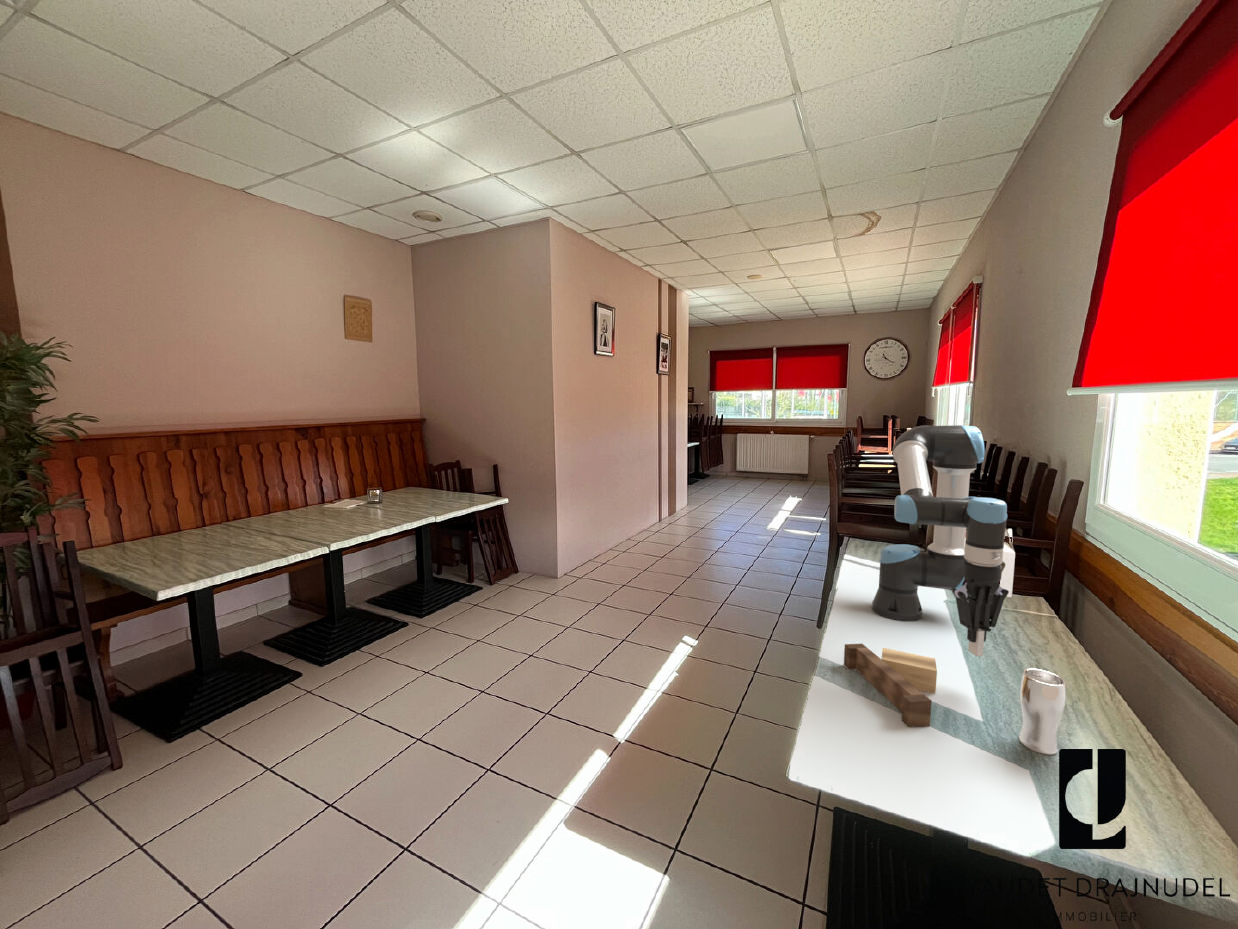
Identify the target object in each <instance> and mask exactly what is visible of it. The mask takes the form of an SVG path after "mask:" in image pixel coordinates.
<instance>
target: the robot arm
mask: <svg viewBox="0 0 1238 929" xmlns="http://www.w3.org/2000/svg"><path fill="white" fill-rule="evenodd" d="M892 457H893V459H894V461H895V463H896V464H897V471H898V478H899V487H900V495H899V494H898V495H897V496H896V497H895V499H894V510H893V511H894V513H893V514H894V519H895V521H896V522H899V523H905V524H908V525H909V524H910V525H924V526H925V525H927V526H928V525H929V526H934V527H933V528H934V529H933V542H932V543H930V544H929V545H928V546H927V547H926V549H927V550H926V551H921V548H920V547H919V546H917V545H914V544H913V545H911V544H903V543H902V544H891V545H886V546H884V547H883V548H882V549H881V550H880V558H879V560H878V561H879V575H878V576H879V577H878V578H879V579H878V588H877V590H876V592H875V595H874V597H873V600H872V601H871V609H872V610H873V612H874V613H876V614H878V615H880V616H882V617H884V618H888V619H890V620H891V619H892V620H896V621H902V622H903V621H906V622H911V621H912V622H914V621H919V620H921V619H922V618H923V608H922V604H921V601H920V598H919V595H918V588H919V587H923V588H924V587H925V588H931V589H932V588H933V589H940V590H941V589H942V590H948V591H951V592H952V594H953V596H954V597H955V602H956V608H957V613H958V620H959V624H960V625H962V626H963V627H965V628H967V634H966V635H967V636H966V639H967V640H968V648H967V649H968V650H967V651H968V652H969V653H971V654H973V655H975V657H982V656H983V654H984V653H983V652H984V644H985V642H986V640H987V633H990V632H991V631H992V628H995V627H996V626H997V622H998V620H999V617H1000V613H1001V611H1002V607H1003V604H1004V600H1005V599H1006V598H1007V597H1006V596H1007V595H1008V593H1009V591H1008V590H1006V589H1004V588H1002V587H1000V584H999V581H1000V580H1001V575H1002V566H1001V565H1000V564H1002V562H1003V550H1004V539H1005V528H1006V529H1007V520H1008V513H1007V512H1008V505H1007V503H1006V502H1005V501H1004V500H1001V499H997V498H993V497H982V496H981V497H977V496H969V493H970V492H969V491H970V479H971V478H970V477H971V474H972V473H973V472H974V471H975V470H977V464H981V463H983V462H984V460H985V459H984V458H985V441H984V436H983V434H982V431H981V430H980V429H979V428H978V427H976V426H975V425H974V426H973V425H961V424H960V425H958V424H957V425H920V426H919V425H918V426H915V427H912V428H909V429H908V430H906V431H905V432H903V433H902V434H901V435H900V436H899V437H898V438H897V439H896V440H895V442H894V444H893V446H892ZM927 462H932V468H933V469H935V471H937V482H936V496H934V495H933V491H932V490H933V489H932V485H931V480H930V479H931V478H930V475H929V470H928V464H927ZM965 538H966V540H965Z"/></svg>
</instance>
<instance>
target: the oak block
mask: <svg viewBox="0 0 1238 929" xmlns="http://www.w3.org/2000/svg"><path fill="white" fill-rule="evenodd" d="M881 650H882V651H881V659H882V660H883V661H884V662H885V663H886V664H888V665H889V666H890V667H891V668H893V669H894V670H895V671H896V672H897V673H899V674H900V675H901V676H902V677H903V678H905V679H906V680H907V681H908V682H910V683H911V684H912V685H913V686H914V687H916V688H917V689H918V690H919V691H924V692H928V693H933V694H936V693H937V692H936V691H937V676H938V669H937V662H936V658H934V657H930V656H925V655H924V656H923V655H919V654H915V653H910V652H905V651H902V650H901V651H900V650H895V649H891V648H885V647H882V649H881Z"/></svg>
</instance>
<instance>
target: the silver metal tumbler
mask: <svg viewBox="0 0 1238 929" xmlns="http://www.w3.org/2000/svg"><path fill="white" fill-rule="evenodd" d="M1019 689H1020V690H1019V691H1020V692H1019V698H1020V707H1021V708H1020V710H1021V715H1022V727H1021V730H1020V733H1019V736H1018V740H1019V742H1020V743H1021V744H1022V745H1023V746H1024V747H1025V748H1028V749H1029V750H1031V751H1033V752H1035V753H1039V754H1043V755H1048V756H1052V755H1056V754H1057V753H1058V744H1057V732H1058V729H1059V725H1060V722H1061V721H1062V717H1063V714H1064V711H1065V704H1066V680H1064V678H1062V677H1061V676H1059V675H1057V674H1055V673H1052V672H1050V671H1046V670H1043V669H1039V668H1025V669H1024V670H1023V671H1022V677H1021V682H1020V688H1019Z"/></svg>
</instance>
